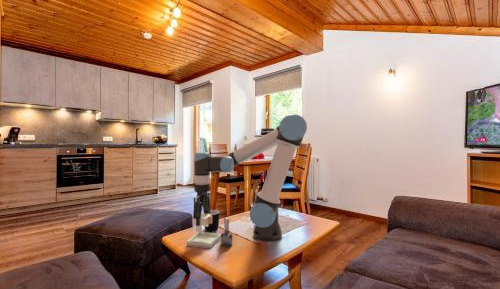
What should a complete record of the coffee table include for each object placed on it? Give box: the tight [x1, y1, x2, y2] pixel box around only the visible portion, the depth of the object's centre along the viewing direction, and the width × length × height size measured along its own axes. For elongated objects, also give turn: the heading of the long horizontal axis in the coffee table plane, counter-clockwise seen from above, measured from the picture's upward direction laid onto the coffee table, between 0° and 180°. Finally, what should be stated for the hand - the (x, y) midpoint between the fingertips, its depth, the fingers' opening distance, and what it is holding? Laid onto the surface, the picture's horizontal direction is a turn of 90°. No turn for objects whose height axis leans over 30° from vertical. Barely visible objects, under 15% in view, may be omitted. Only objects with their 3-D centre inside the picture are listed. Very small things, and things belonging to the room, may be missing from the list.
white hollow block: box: [192, 213, 213, 226], centre depth 123 cm, size 9×7×3 cm
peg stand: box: [220, 216, 233, 248], centre depth 120 cm, size 6×6×13 cm
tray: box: [186, 231, 222, 249], centre depth 124 cm, size 13×13×2 cm
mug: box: [203, 209, 220, 233], centre depth 141 cm, size 12×9×10 cm
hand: (202, 228), depth 124 cm, fingers closed on white hollow block, 7 cm apart
